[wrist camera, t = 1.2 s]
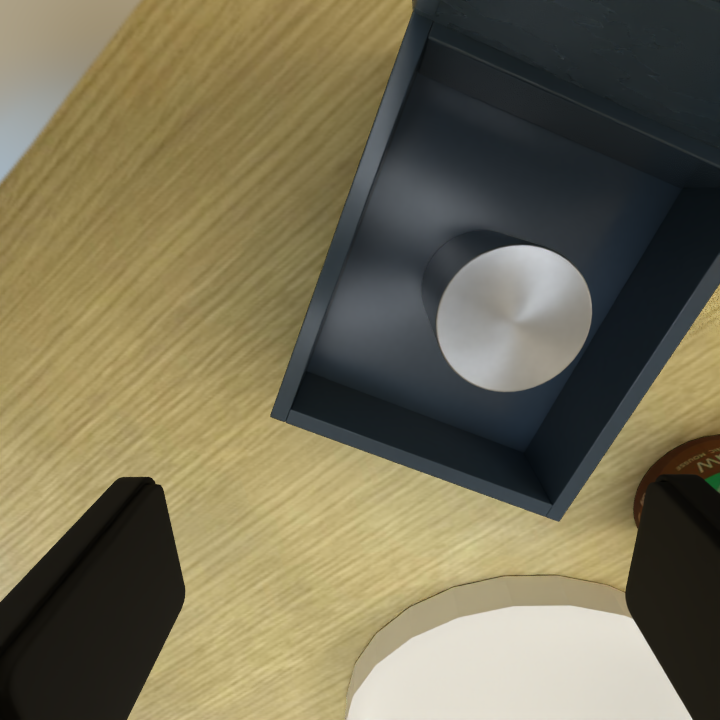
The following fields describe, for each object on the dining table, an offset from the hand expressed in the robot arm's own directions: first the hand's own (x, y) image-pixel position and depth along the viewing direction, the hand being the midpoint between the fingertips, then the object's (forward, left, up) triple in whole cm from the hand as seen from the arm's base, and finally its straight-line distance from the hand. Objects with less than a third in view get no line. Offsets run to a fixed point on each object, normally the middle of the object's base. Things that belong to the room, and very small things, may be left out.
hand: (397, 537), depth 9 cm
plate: (+15, -31, -18) cm, 39 cm away
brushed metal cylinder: (+4, +2, -17) cm, 18 cm away
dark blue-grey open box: (+4, +2, -18) cm, 19 cm away
